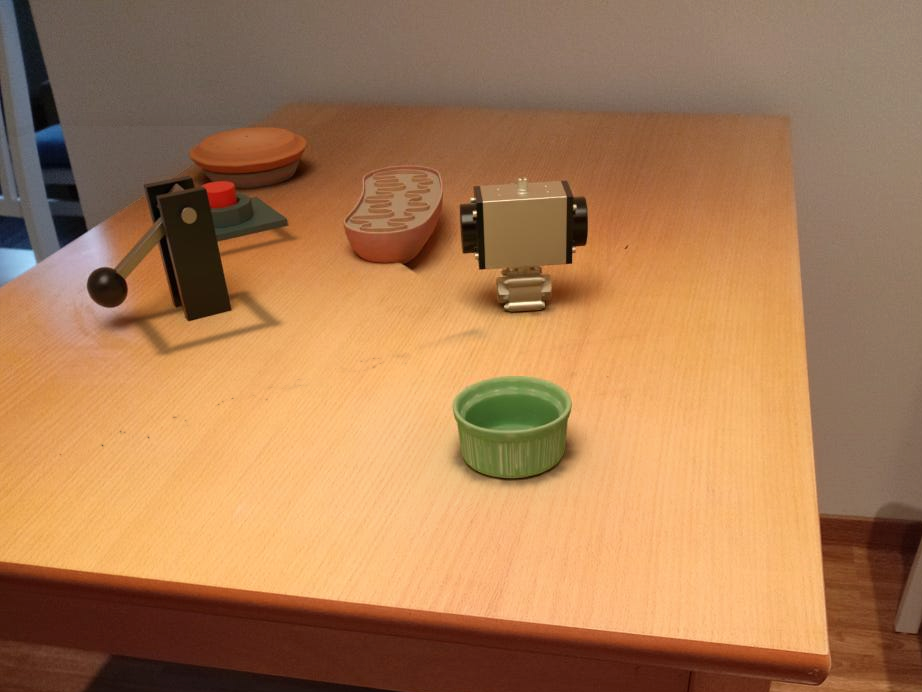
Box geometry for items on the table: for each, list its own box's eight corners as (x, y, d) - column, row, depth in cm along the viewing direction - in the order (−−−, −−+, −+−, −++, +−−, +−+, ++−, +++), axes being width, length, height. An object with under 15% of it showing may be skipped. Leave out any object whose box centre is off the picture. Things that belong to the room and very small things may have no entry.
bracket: (164, 351, 96) (128, 212, 88) (138, 319, 102) (102, 186, 94) (273, 323, 100) (248, 187, 92) (242, 293, 106) (216, 163, 98)
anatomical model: (372, 209, 124) (367, 166, 121) (452, 207, 124) (450, 163, 121) (343, 281, 107) (336, 233, 104) (436, 279, 107) (432, 231, 103)
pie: (292, 195, 130) (285, 153, 127) (178, 194, 132) (168, 153, 129) (324, 159, 141) (319, 120, 138) (219, 159, 144) (211, 120, 140)
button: (209, 213, 115) (205, 194, 113) (198, 204, 117) (194, 185, 116) (242, 206, 116) (239, 187, 115) (231, 197, 119) (227, 178, 118)
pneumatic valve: (586, 311, 99) (589, 182, 91) (466, 319, 99) (459, 190, 91) (578, 289, 103) (581, 163, 95) (463, 296, 103) (457, 171, 95)
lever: (115, 321, 95) (83, 295, 92) (105, 308, 97) (74, 282, 94) (209, 215, 94) (180, 185, 91) (197, 204, 96) (168, 176, 93)
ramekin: (594, 448, 79) (596, 396, 76) (519, 497, 74) (518, 445, 71) (507, 414, 84) (505, 364, 81) (431, 458, 79) (427, 407, 76)
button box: (190, 261, 114) (182, 224, 111) (164, 235, 120) (156, 200, 118) (290, 238, 118) (284, 202, 115) (259, 215, 125) (253, 180, 122)
